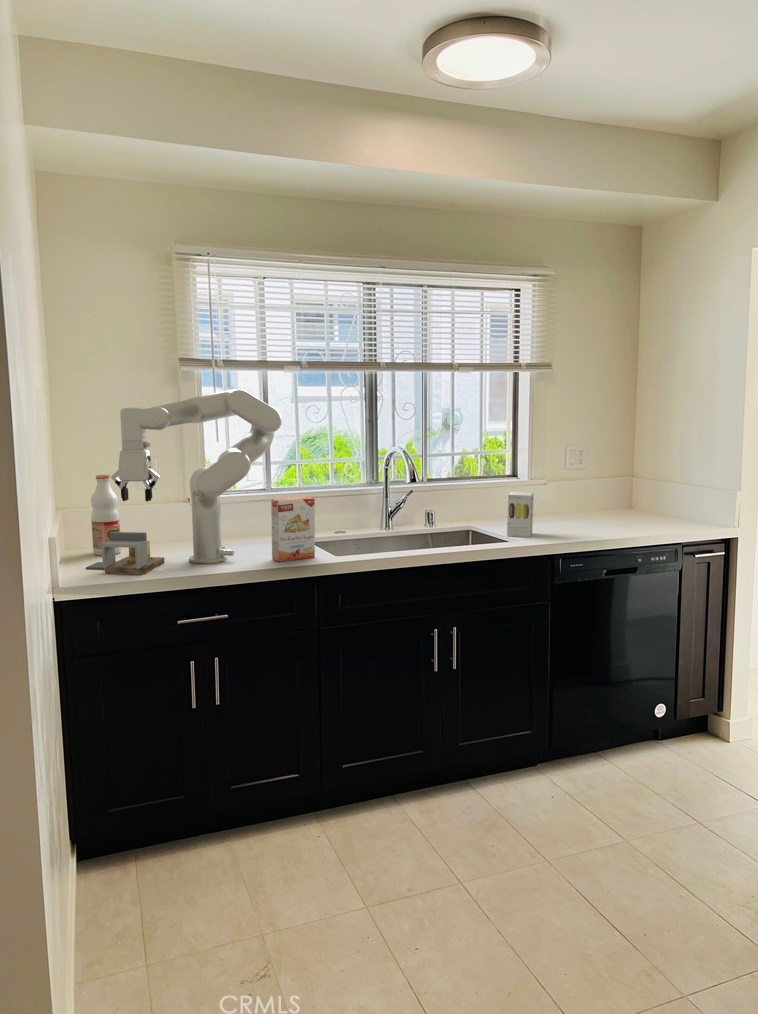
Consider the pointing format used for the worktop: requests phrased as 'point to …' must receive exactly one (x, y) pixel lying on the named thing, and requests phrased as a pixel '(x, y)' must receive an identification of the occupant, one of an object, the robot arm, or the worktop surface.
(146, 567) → the board
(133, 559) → the block
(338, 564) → the worktop surface
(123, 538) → the cover
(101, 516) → the fruit juice
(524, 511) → the supplement box
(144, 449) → the robot arm
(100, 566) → the mat
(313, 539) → the cracker box
